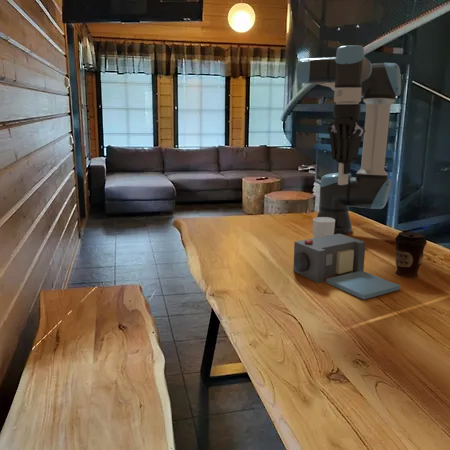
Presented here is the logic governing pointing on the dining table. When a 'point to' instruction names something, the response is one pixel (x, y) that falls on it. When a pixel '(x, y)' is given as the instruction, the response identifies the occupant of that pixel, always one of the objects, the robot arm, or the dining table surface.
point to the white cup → (323, 226)
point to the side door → (363, 284)
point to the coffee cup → (409, 253)
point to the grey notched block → (328, 256)
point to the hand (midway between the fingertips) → (342, 184)
